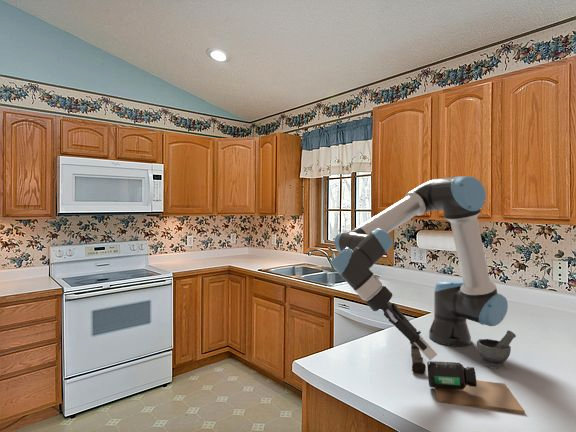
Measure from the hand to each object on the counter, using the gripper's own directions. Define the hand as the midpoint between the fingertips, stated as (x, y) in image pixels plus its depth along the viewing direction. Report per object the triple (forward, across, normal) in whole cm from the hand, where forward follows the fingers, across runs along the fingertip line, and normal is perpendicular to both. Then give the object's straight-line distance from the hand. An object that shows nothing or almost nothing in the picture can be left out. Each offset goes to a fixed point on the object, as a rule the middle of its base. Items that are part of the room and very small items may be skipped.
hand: (433, 356), depth 103 cm
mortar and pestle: (+22, +24, -9) cm, 34 cm away
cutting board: (+14, 0, -1) cm, 14 cm away
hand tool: (+4, +18, +9) cm, 21 cm away
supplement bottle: (+3, 0, +5) cm, 5 cm away
